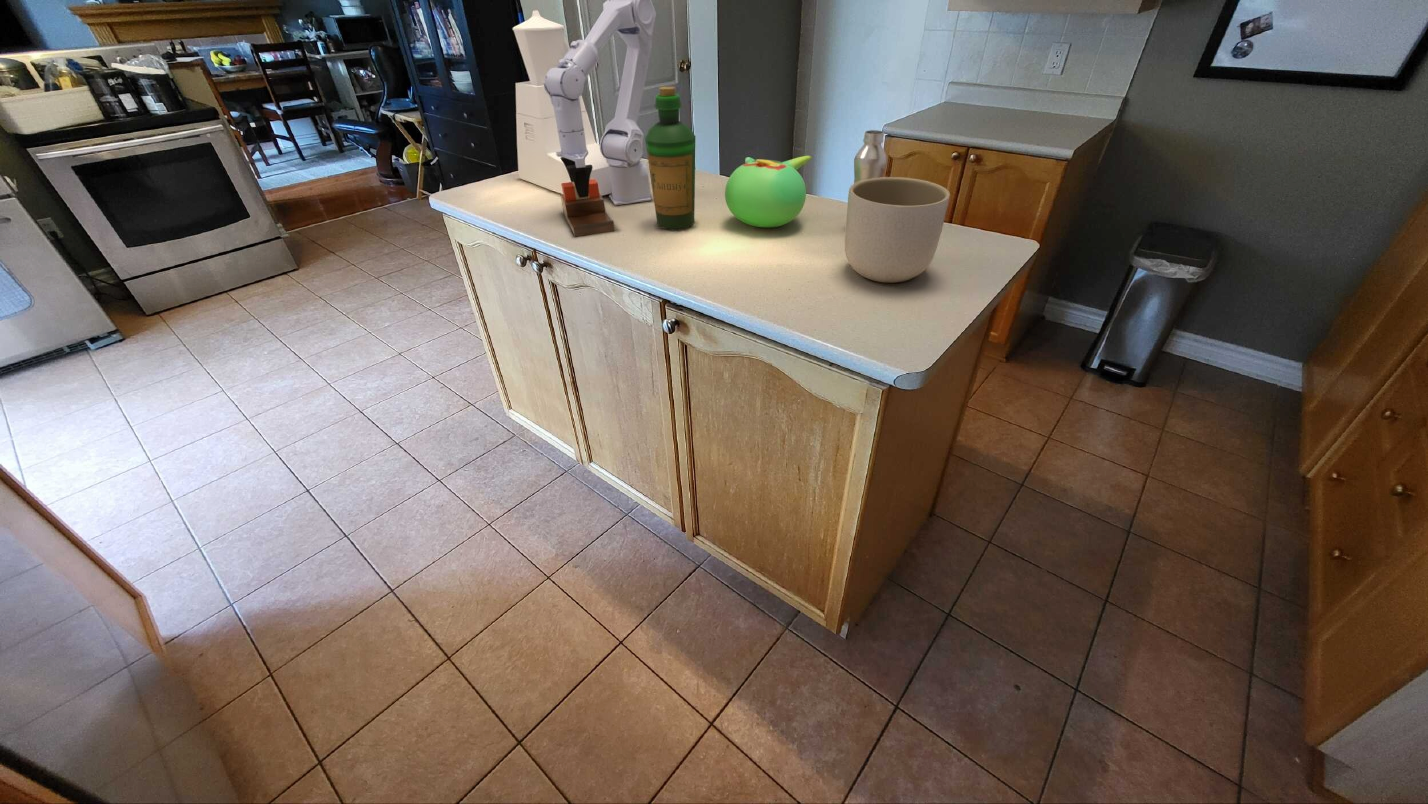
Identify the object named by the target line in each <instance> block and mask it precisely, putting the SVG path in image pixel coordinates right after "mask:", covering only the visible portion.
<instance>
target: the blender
mask: <svg viewBox="0 0 1428 804" xmlns="http://www.w3.org/2000/svg"><path fill="white" fill-rule="evenodd" d="M531 13H532V14H531V17H530V18H528V19H527V20H525V21H523V22H521V23H518V24H517V25H515V26H513V27H512V31H513V33H514V36H515V39H516V43H517V45H518V48H519V52H520V54H521V57H522V60H523V64H524V67H525V69H526V74H527V75H528V79H529V80H527V81H521V82H515V111H516V112H515V119H516V149H517V171H518V173H517V174H518V178H519V179H521V180H524V181H525V182H528V183H532V184H534V185H537V186H539V187H542V188H544V189H547V190H550V191H553V192H555V193H558V194H560V195H563V190H562V185H561V183H568V182H571V180H570V177H569V174H568V171H567V169H566V167H565V165H564V163H563V162H562V160H561V159H560V158H561V157H558V156H557V155H556V152H560V151H561V146H560V140H559V135H558V129H557V123H556V117H555V112H554V106H553V104H552V103H551V98H550V96H549V95H548V94H547V92H546V91H545V88H544V85H543V84H544V83H545V77H546V74H547V72H548V71H549V70H550V69H551V68H554V67H557V66H558V64H559V61H560V59H563V58H564V57H565V55H566V54H567V53H568V51H569V50H570V49H571V46H570V44H569V42H568V40H567V38H566V36H565V32H564V31H565V29H564V28H565V26H564V25H563V24H560V23H559V22H555V21H552V20H549V19H546V18H545V17H542V16H541V14H540V12H539V10H536V9H535V10H532V12H531ZM557 68H558V67H557ZM579 99H580V106H581V113H582V120H583V127H584V133H585V140H586V147H587V150H588V155H587V156H586V158H585V165H592V171H591V174H590V179H589V180H592V179H595V180H596V181H597V183H598V188H599V193H600V195H601V196H602V197H603V196H606V195H611V194H612V186H611V178H610V171H609V164H608V163H607V162H606V158H604V157H603V156H602V154H601V151H600V143H597V142H596V138H595V135H594V131H593V128H592V124H591V121H590V118H589V115H588V112H587V111H588V110H587V109H586V106H585V102H584V98H583V94H582V95H581V96H580V97H579Z"/></svg>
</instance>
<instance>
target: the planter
mask: <svg viewBox="0 0 1428 804" xmlns="http://www.w3.org/2000/svg"><path fill="white" fill-rule="evenodd" d="M950 198H951V192H950V191H949V190H948V189H947V188H946V187H944V186H942V185H940V184H938V183H935V182H932V181H928V180H924V179H919V178H911V177H903V176H901V177H900V176H883V177H880V178H871V179H866V180H862V181H859V182H856V183H854V182H853V183H852V185H850V187H849V189H848V197H847V207H846V217H845V219H846V220H845V229H844V253H845V258H846V260H847V262H848V264H849V266H850V267H851V268H852V269H853V270H854V272H856V273H857V274H858V275H860V276H862V277H863V278H865V279H868V280H869V281H874V282H878V283H890V284H891V283H892V284H895V283H902V282H906V281H910V280H911V279H913V278H916V277H918V276H919V275H921V274H922V273H923V272H925V271H926V270H927V269H928V267H930V265H931V263H932V261H933V260H934V257H935V254H936V251H937V248H938V246H939V242H940V239H941V236H942V235H941V234H942V231H943V227H944V223H945V220H946V215H947V211H948V208H949V203H950V200H951V199H950Z"/></svg>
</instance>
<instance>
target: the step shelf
mask: <svg viewBox="0 0 1428 804" xmlns="http://www.w3.org/2000/svg"><path fill="white" fill-rule="evenodd" d="M599 195H600V193H599ZM559 197H560V201H561V206H562V212H563V215H564V217H565V219H566V221H567V223H568V225H569V228H570V229H571V231H572V234H573V235H574V237H582V236H588V235H595V234H601V233H609V232H615V224H614V223H615V222H614V220H611V218H610V217H609V215H608V214H607V212H606V206H605V199H604V198H603V196H601V195H600V197H594V198H587V199H580V200H572V201H566V200H565V198H564V196H563V194H560V196H559Z"/></svg>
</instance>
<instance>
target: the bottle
mask: <svg viewBox="0 0 1428 804" xmlns="http://www.w3.org/2000/svg"><path fill="white" fill-rule="evenodd" d="M658 90H659V93H658V94H656V95H655V101H654V102H655V103H654V109H655V110H657V113H658V120H659V121H658V122H657V123H655V124H654V125H653V126H652V127H650V129H648V131H647V133H646V135H645V137H644V142H645V147H646V155H647V161H648V168H649V169H648V170H649V175H650V176H649V178H650V183H651V190H652V196H653V197H652V198H653V204H654V212H655V218H656V224H657V226H658V227H659V228H661V229H665V230H667V231H680V230H681V231H682V230H685V229H687V228H690V227H693V225H694V223H695V212H696V211H695V208H696V207H695V206H696V204H695V202H696V200H695V199H696V135H695V134H694V132H693V130H692V128H690V127H689V126H688V125H686V124H685V123H684V122H682V121H681V120H680V109H681V108H682V107H683V106H682V102H681V97H680V94H678V93H676V87H675V86H661V87H659V88H658Z"/></svg>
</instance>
